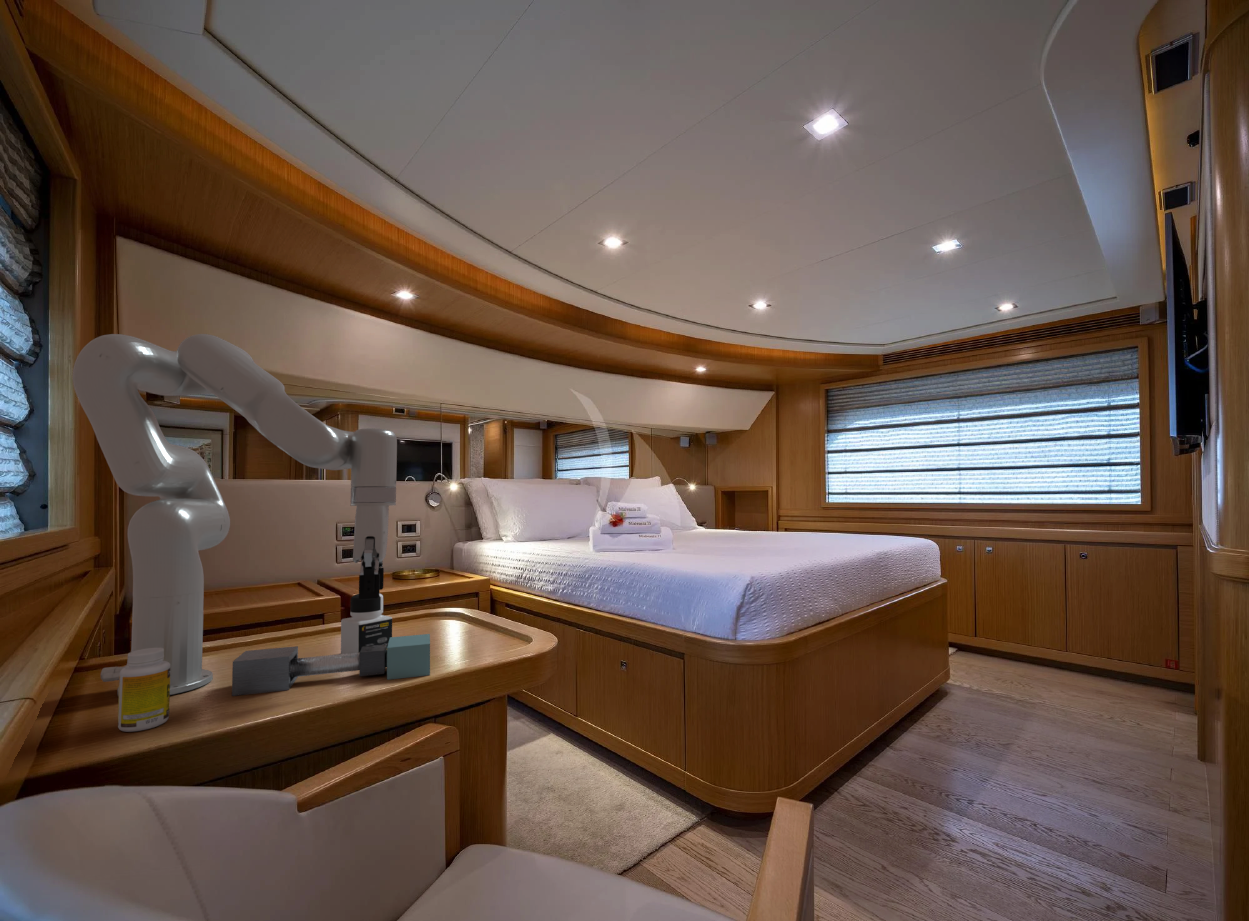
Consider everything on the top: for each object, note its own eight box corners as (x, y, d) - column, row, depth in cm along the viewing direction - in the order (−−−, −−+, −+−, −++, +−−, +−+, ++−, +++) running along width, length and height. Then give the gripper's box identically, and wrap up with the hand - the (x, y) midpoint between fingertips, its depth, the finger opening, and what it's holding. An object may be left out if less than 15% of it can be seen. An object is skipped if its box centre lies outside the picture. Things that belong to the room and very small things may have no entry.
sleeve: (231, 696, 93) (232, 661, 93) (244, 683, 100) (245, 650, 100) (288, 690, 96) (289, 656, 96) (297, 677, 102) (298, 646, 102)
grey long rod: (266, 686, 96) (266, 661, 96) (272, 678, 100) (273, 654, 100) (408, 671, 103) (409, 648, 103) (409, 664, 107) (409, 642, 107)
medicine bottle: (358, 660, 112) (359, 597, 113) (340, 655, 116) (340, 594, 117) (392, 652, 118) (393, 592, 119) (373, 647, 122) (374, 589, 123)
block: (387, 679, 100) (387, 647, 100) (389, 667, 107) (389, 637, 108) (430, 675, 102) (430, 643, 102) (429, 663, 110) (429, 633, 110)
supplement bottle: (175, 723, 82) (177, 649, 83) (124, 736, 78) (127, 658, 78) (161, 715, 85) (163, 644, 86) (112, 727, 81) (114, 652, 81)
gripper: (356, 497, 112) (354, 588, 111) (344, 497, 95) (341, 603, 94) (398, 497, 114) (396, 585, 113) (393, 497, 98) (391, 600, 97)
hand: (371, 594), depth 104 cm, fingers open, 9 cm apart
